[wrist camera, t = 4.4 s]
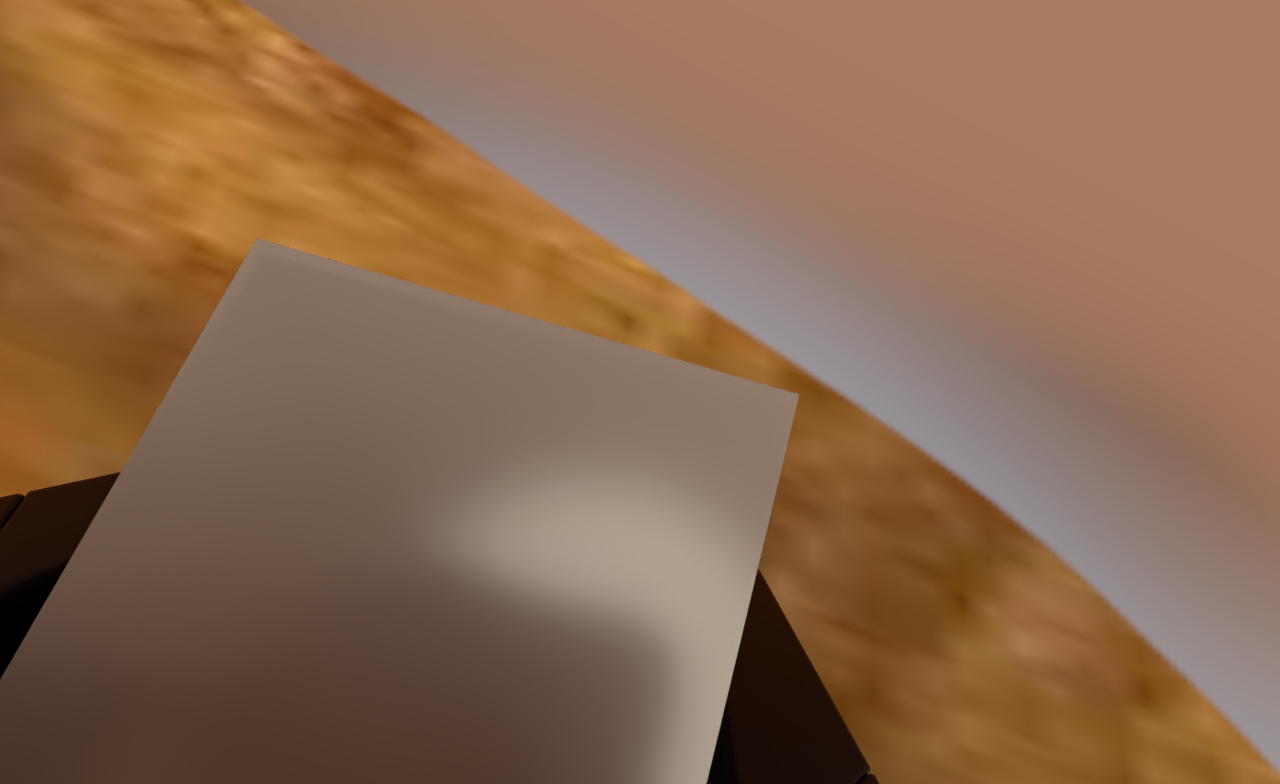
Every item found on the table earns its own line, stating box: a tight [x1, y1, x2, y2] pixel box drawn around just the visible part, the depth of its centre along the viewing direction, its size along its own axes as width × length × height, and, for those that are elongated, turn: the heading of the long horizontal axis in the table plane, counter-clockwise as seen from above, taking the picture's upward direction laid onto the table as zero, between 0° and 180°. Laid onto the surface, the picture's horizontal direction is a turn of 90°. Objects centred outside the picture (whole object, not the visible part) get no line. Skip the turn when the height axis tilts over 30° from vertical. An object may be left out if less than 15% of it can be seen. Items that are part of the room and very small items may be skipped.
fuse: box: [0, 238, 799, 784], centre depth 10 cm, size 4×4×11 cm
